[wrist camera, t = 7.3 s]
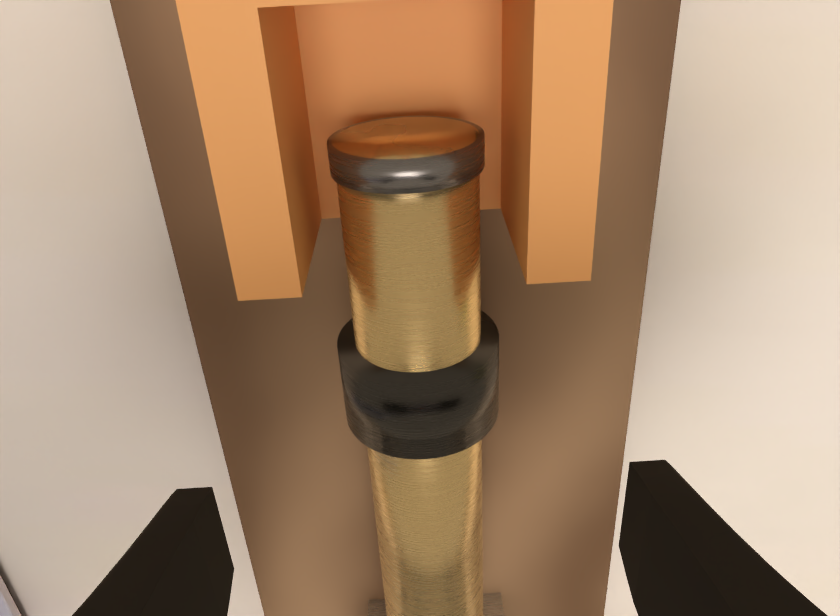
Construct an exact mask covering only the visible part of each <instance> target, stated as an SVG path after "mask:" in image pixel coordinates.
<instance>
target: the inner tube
mask: <svg viewBox="0 0 840 616" xmlns="http://www.w3.org/2000/svg"><path fill="white" fill-rule="evenodd" d="M327 150H328V158H329V167H330V175H331V177H332V179H333V180H334V181H335V182H337V190H338V199H339V208H340V216H341V225H342V234H343V242H344V251H345V260H346V268H347V277H348V285H349V294H350V303H351V311H352V319H350V320H349V321H348V322H347V323H346V324H345V325H344V327H343V328H342V329H341V331H340V333H339V336H338V340H337V349H338V357H339V364H340V372H341V379H342V387H343V395H344V402H345V410H346V418H347V422H348V425H349V428H350V430H351V431H352V433H353V434H354V436H355V437H356V438H357V439H358V440H359V441H360V442H362V443H363V444H364V445H366V446H367V450H368V458H369V467H370V476H371V484H372V493H373V502H374V510H375V519H376V528H377V536H378V545H379V554H380V562H381V571H382V579H383V588H384V597H385V605H386V614H387V616H483V528H482V439H483V438H484V437H485V436H486V435H487V434H488V433H489V432H490V430H491V429H492V428H493V426H494V424H495V422H496V420H497V417H498V411H499V331H498V328H497V326H496V324H495V323H494V321H493V320H492V319H491V318H490V317H489V316H488V315H487V314H486V313H485V312H483V311H482V310H481V285H480V173H481V172H482V171H483V169H484V166H485V134H484V130H483V129H482V128H481V127H480V126H478V125H476V124H474V123H472V122H469V121H466V120H462V119H457V118H451V117H443V116H425V115H417V116H397V117H387V118H380V119H374V120H369V121H364V122H360V123H357V124H353V125H350V126H347V127H345V128H342V129H340V130H338V131H336V132H335V133H333V134H332V135H331V136H330V137H329V138H328V140H327Z"/></svg>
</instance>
